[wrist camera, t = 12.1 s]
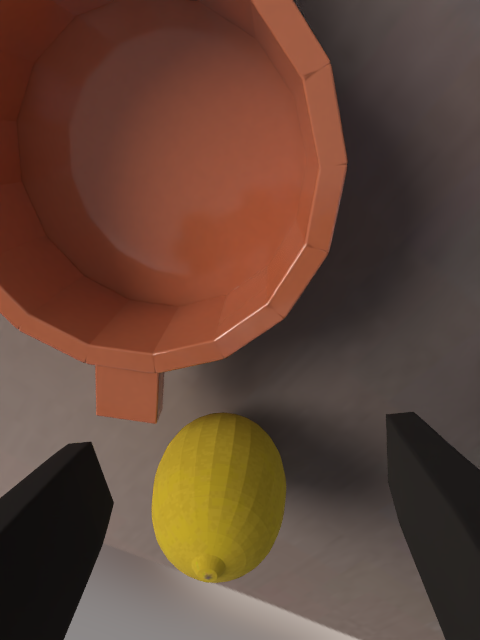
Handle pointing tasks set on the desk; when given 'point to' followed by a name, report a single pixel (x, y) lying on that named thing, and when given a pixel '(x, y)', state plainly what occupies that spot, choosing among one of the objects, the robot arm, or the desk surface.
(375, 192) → the desk surface
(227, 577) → the lemon
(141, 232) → the pot
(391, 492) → the robot arm
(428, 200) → the desk surface
